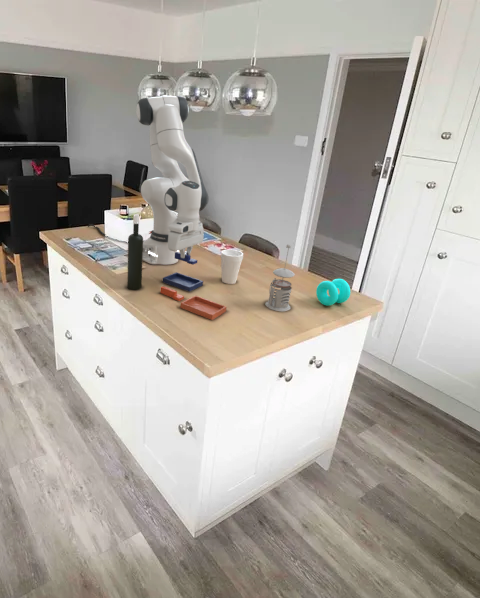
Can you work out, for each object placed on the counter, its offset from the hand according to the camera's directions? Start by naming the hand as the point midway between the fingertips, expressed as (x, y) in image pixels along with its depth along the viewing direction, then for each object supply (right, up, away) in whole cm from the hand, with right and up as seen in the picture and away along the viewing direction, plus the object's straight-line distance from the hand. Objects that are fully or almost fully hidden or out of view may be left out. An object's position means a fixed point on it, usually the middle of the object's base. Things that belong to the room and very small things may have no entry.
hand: (185, 256), depth 171 cm
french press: (+35, -20, -9) cm, 42 cm away
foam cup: (+19, -10, +12) cm, 25 cm away
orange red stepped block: (-6, -16, -7) cm, 19 cm away
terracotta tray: (+6, -21, -16) cm, 27 cm away
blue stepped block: (0, -1, +1) cm, 2 cm away
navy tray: (-1, -11, +5) cm, 12 cm away
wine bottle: (-21, -13, -2) cm, 24 cm away
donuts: (+59, -19, -2) cm, 62 cm away
